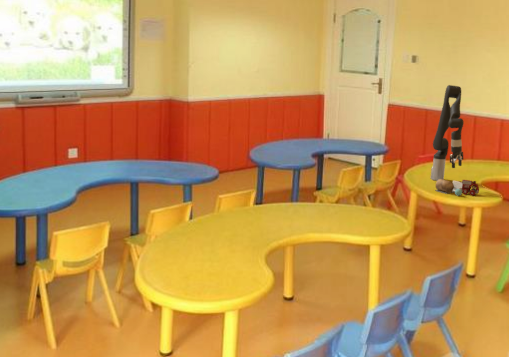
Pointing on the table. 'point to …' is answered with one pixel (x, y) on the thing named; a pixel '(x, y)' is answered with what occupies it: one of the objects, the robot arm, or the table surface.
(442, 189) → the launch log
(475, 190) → the toy fire truck
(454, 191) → the grey rectangular panel
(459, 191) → the rubber ball
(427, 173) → the table surface
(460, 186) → the frame
